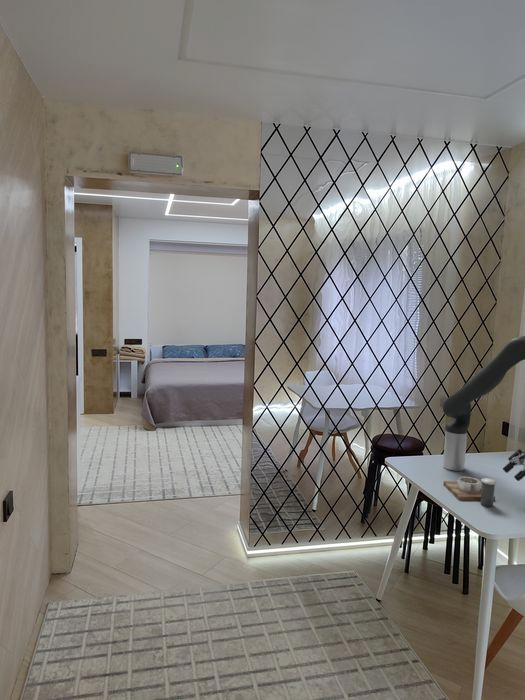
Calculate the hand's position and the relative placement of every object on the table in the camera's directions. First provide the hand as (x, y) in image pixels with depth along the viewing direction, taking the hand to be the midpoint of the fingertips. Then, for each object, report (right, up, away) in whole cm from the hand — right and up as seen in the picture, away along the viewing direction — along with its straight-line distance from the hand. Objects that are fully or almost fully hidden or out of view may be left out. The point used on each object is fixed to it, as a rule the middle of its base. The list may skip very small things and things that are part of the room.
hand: (510, 475), depth 188 cm
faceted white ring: (-10, -9, +13) cm, 19 cm away
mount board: (-11, -10, +13) cm, 20 cm away
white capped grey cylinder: (-8, -12, +1) cm, 14 cm away
